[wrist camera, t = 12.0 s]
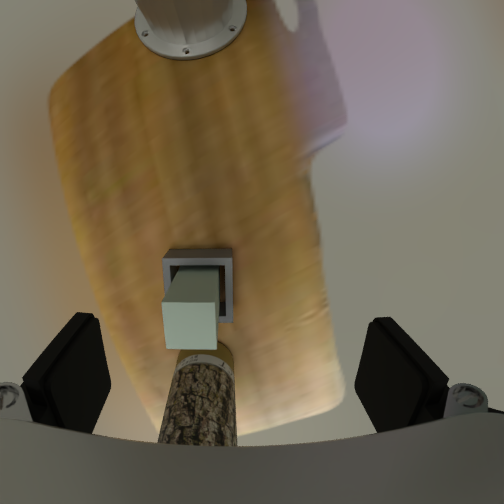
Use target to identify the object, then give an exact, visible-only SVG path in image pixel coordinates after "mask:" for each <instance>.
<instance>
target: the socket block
mask: <svg viewBox="0 0 504 504" xmlns="http://www.w3.org/2000/svg"><path fill="white" fill-rule="evenodd" d="M162 263H163V277H164V290H165V295H166V293H167V291H168V289H169V287H170V285H171V283H172V281H173V279H174V277H175V275H176V273H177V265H225V290H226V302H220V306H219V321H218V323H233V280H232V249H169V251H168V252H167V253H166V254H165V256H164V257H163V258H162Z"/></svg>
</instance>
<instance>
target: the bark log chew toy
mask: <svg viewBox="0 0 504 504" xmlns="http://www.w3.org/2000/svg"><path fill="white" fill-rule="evenodd" d="M158 443H164V444H177V445H194V446H237V428H236V406H235V381H234V362H233V358H232V355H231V353H230V351H229V350H228V349H227V348H226V347H225V346H224V345H222V344H221V343H219V342H217V350H208V349H182V350H181V351H180V353H179V356H178V360H177V364H176V368H175V371H174V375H173V379H172V383H171V387H170V391H169V395H168V400H167V404H166V408H165V412H164V416H163V421H162V425H161V429H160V434H159V438H158Z"/></svg>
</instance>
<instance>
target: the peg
mask: <svg viewBox="0 0 504 504" xmlns="http://www.w3.org/2000/svg"><path fill="white" fill-rule="evenodd" d="M219 306H220V265H181V266H180V268H179V270H178V272H177V273H176V275H175V277H174V279H173V281H172V283H171V285H170V287H169V289H168V291H167V293H166V295H165V297H164V298H163V300H162V312H163V322H164V332H165V340H166V349H208V350H217V337H218V321H219Z"/></svg>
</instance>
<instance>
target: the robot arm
mask: <svg viewBox="0 0 504 504" xmlns="http://www.w3.org/2000/svg"><path fill="white" fill-rule="evenodd" d="M135 2H136V4H137V5H138V7H137V10H136V14H135V28H136V32H137V34H138V36H139V38H140V40H141V41H142V42H143V44H144V45H145V46H146V47H147V48H148V49H149V50H151V51H152V52H154V53H156V54H158V55H159V56H163V57H166V58H169V59H176V60H191V59H197V58H202V57H205V56H208V55H212V54H214V53H216V52H218V51H220V50H222V49H223V48H224V47H226V46H227V45H229V44H230V43H231V42H232V41H233V40H234V39H235V38H236V37H237V36H238V34H239V33H240V31H241V30H242V28H243V26H244V23H245V21H246V15H247V4H246V0H135ZM231 30H234V31H233V32H232V31H231ZM146 35H148V36H146ZM145 36H146V37H145ZM186 52H190V53H189V54H185V53H186ZM22 378H23V381H24V382H23V383H22V384H21V386H19V385H17V384H15V383H12V382H3V383H0V504H504V412H503V411H499V410H496V409H492V408H488V399H487V396H486V394H485V393H484V392H483V391H482V390H481V389H480V388H478V387H476V386H474V385H471V384H466V383H460V384H459V383H458V384H455V385H453V386H452V387H451V388H449V387H448V386H447V383H448V381H449V378H448V377H447V376H446V375H445V374H444V373H443V372H442V370H441V369H440V368H439V367H438V366H437V365H436V364H435V363H434V362H433V361H432V360H431V358H430V357H429V356H428V355H427V354H426V353H425V352H424V351H423V350H422V349H421V348H420V347H419V346H418V345H417V344H416V343H415V342H414V340H413V339H412V338H410V336H409V335H408V334H407V333H406V332H405V331H404V330H403V329H402V328H401V327H400V326H399V325H398V324H397V323H396V322H395V321H394V320H393V319H392V318H391V317H378V318H375V319H374V320H373V322H370V323H369V326H368V330H367V334H366V339H365V343H364V347H363V352H362V356H361V360H360V364H359V368H358V372H357V376H356V379H355V391H356V393H357V395H358V397H359V399H360V400H361V403H362V405H363V406H364V408H365V410H366V412H367V414H368V416H369V418H370V420H371V422H372V424H373V425H374V427H375V429H376V431H377V433H375V434H369V435H363V436H357V437H350V438H344V439H336V440H328V441H320V442H311V443H299V444H287V445H269V446H194V445H177V444H164V443H153V442H143V441H135V440H127V439H120V438H113V437H107V436H101V435H95V434H92V432H93V430H94V427H95V425H96V423H97V420H98V418H99V415H100V413H101V410H102V408H103V406H104V404H105V401H106V399H107V396H108V394H109V392H110V389H111V379H110V375H109V370H108V365H107V361H106V356H105V351H104V346H103V340H102V335H101V330H100V323H99V320H98V318H95V317H94V315H93V314H92V313H80V312H77V313H76V314H75V315H74V316H73V317H72V318H71V319H70V320H69V322H68V323H67V324H66V325H65V326H64V327H63V329H62V330H61V331H60V332H59V333H58V335H57V336H56V337H55V338H54V339H53V340H52V341H51V343H50V344H49V345H48V346H47V348H46V349H45V350H44V351H43V352H42V354H41V355H40V356H39V357H38V359H37V360H36V361H35V362H34V363H33V365H32V366H31V367H30V369H29V370H28V371H27V372H26V374H25V375H24V376H23V377H22Z"/></svg>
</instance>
